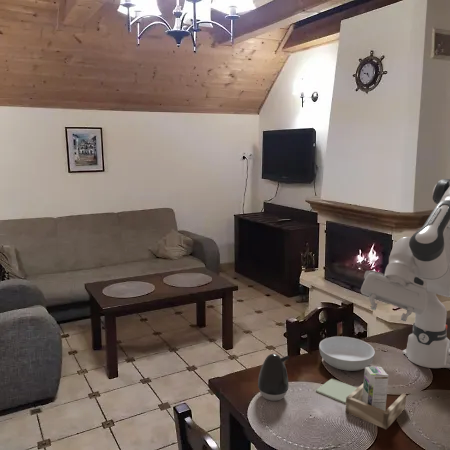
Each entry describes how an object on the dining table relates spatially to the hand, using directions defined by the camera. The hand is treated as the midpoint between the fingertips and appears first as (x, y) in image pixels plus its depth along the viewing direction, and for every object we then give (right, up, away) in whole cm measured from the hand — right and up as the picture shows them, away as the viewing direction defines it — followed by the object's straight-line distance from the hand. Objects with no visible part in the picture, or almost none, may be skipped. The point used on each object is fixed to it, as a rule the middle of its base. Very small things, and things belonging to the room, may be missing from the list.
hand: (388, 314), depth 144 cm
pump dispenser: (-35, -30, +12) cm, 47 cm away
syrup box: (-4, -32, +3) cm, 32 cm away
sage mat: (-12, -29, +15) cm, 35 cm away
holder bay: (-3, -32, +4) cm, 32 cm away
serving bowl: (-4, -26, +35) cm, 44 cm away
